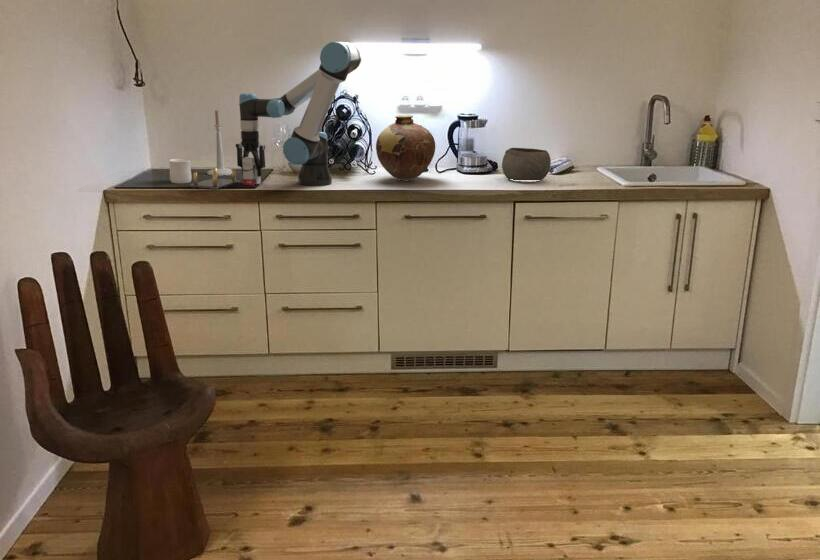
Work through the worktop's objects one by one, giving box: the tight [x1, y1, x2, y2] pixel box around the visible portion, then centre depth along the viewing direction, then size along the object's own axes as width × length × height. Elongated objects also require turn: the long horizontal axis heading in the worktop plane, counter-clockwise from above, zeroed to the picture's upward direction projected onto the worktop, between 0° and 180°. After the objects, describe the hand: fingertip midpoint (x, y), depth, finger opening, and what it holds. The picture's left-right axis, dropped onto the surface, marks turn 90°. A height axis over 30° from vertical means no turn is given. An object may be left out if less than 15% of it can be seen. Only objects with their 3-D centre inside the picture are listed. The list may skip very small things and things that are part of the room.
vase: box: [375, 114, 436, 181], centre depth 321 cm, size 28×27×30 cm
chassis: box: [188, 167, 241, 190], centre depth 304 cm, size 14×18×6 cm
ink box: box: [242, 155, 262, 186], centre depth 307 cm, size 9×5×12 cm, turn 168°
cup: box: [168, 157, 193, 184], centre depth 309 cm, size 10×10×10 cm
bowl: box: [501, 147, 552, 181], centre depth 331 cm, size 23×23×15 cm
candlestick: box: [206, 110, 232, 177], centre depth 329 cm, size 13×13×30 cm
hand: (252, 183), depth 309 cm, fingers closed on ink box, 5 cm apart
